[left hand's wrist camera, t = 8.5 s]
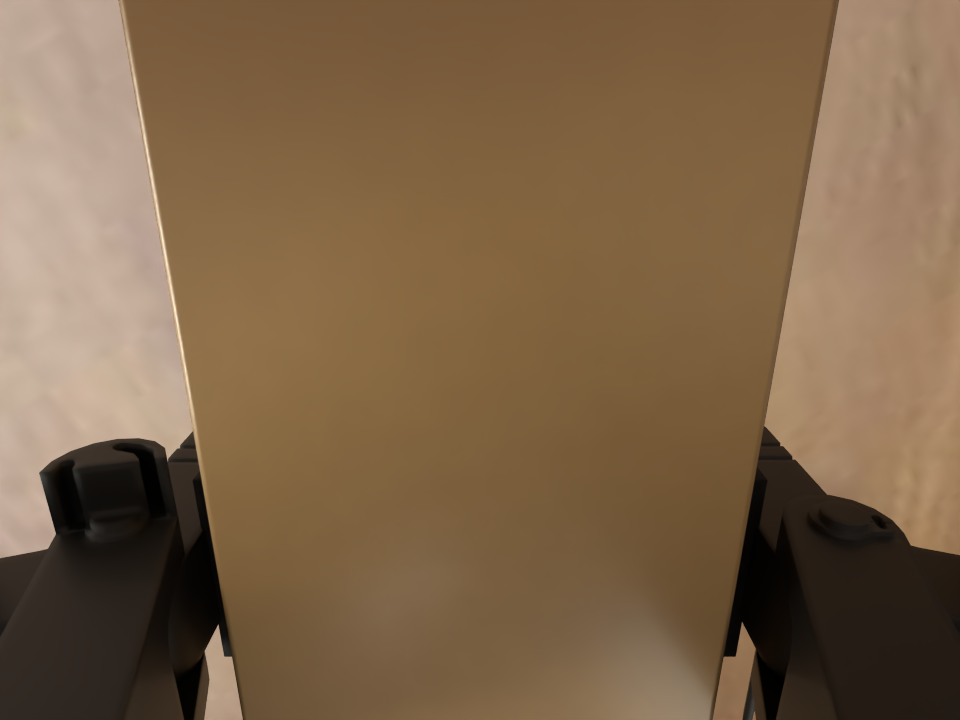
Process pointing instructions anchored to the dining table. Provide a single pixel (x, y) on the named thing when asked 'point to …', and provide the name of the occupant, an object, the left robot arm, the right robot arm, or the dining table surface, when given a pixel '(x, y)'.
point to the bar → (478, 334)
